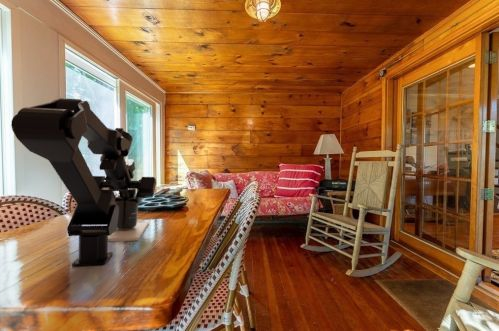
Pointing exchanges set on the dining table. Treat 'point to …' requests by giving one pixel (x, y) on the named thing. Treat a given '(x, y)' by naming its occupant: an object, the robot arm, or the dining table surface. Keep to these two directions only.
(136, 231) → the pale grey mat
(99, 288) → the dining table surface
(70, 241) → the dining table surface
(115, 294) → the dining table surface
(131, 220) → the supplement bottle
